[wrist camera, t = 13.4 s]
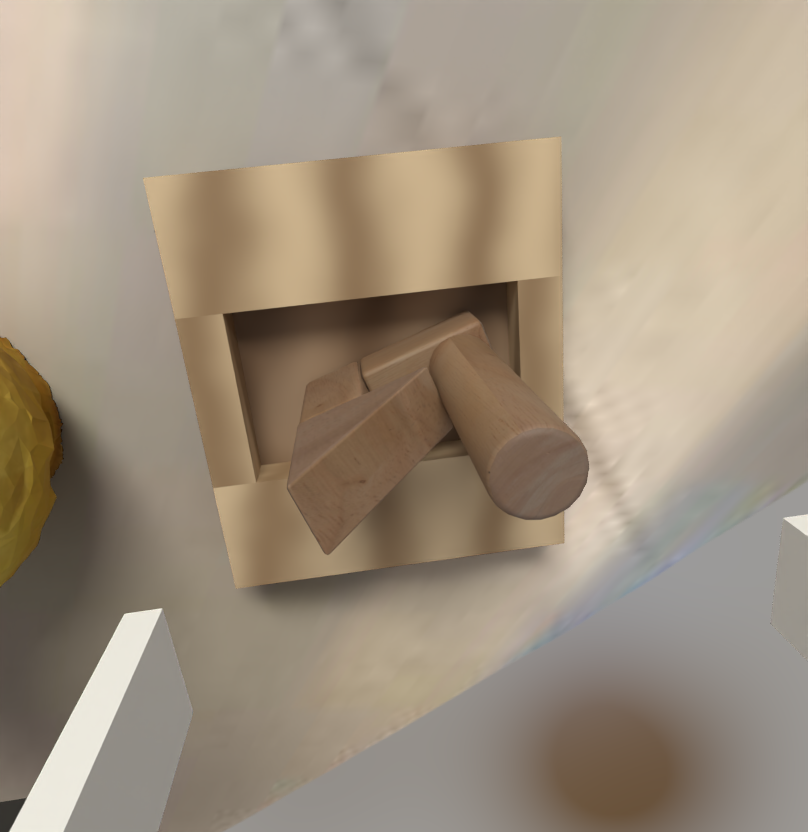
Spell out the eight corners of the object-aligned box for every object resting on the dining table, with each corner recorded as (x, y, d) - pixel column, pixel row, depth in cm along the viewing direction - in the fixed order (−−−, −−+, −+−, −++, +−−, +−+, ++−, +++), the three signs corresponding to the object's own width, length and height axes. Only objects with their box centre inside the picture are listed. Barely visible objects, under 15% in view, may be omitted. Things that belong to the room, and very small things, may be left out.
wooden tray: (537, 143, 35) (561, 136, 31) (544, 513, 43) (564, 543, 40) (164, 179, 34) (142, 177, 30) (245, 553, 42) (235, 588, 38)
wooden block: (303, 382, 37) (273, 539, 20) (467, 307, 36) (577, 402, 20) (331, 434, 38) (323, 621, 21) (489, 361, 38) (611, 496, 21)
